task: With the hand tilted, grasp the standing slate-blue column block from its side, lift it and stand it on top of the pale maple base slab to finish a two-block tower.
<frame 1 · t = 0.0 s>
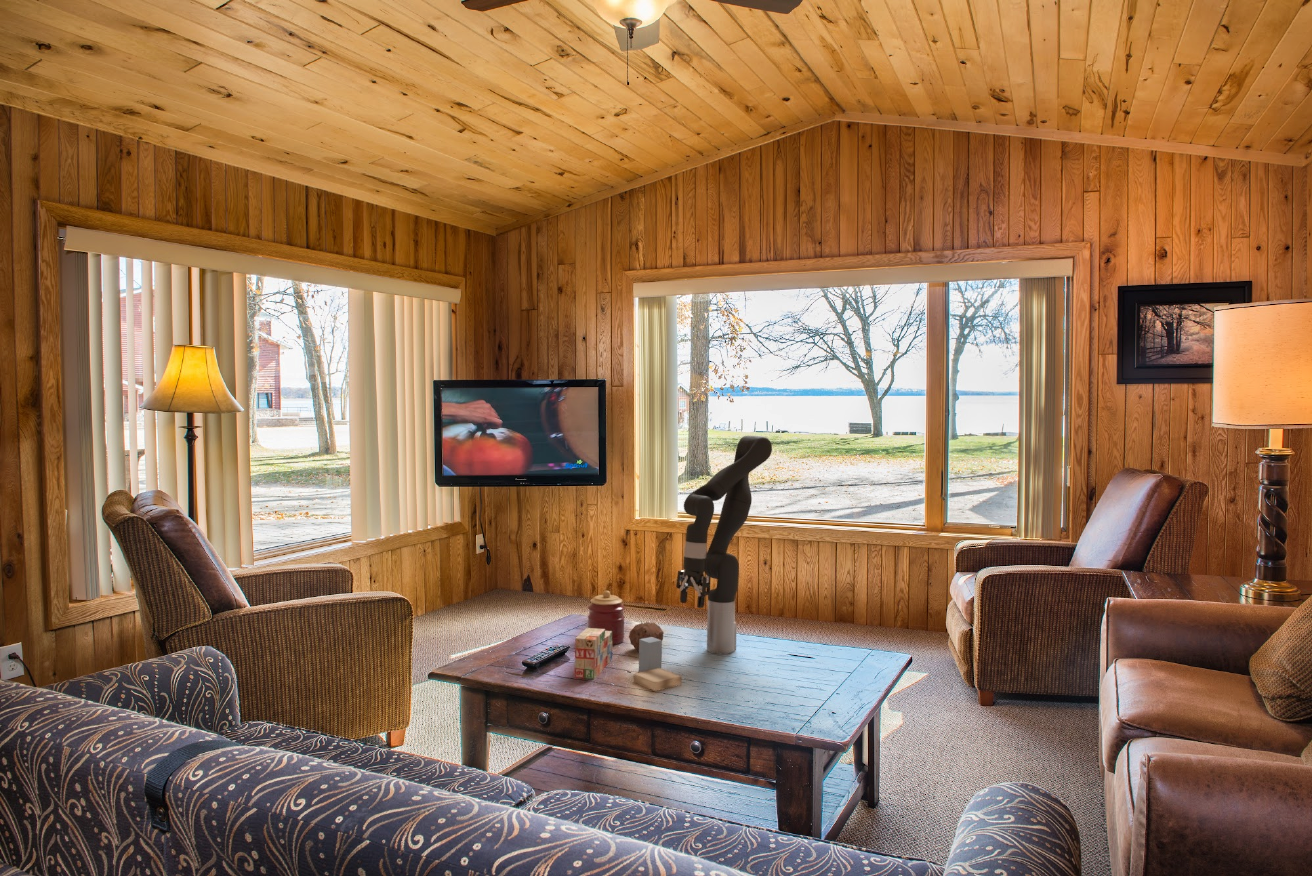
hand: (691, 605, 274), 17 cm above the table, tool pointing down, fingers open, 8 cm apart
canister: (605, 641, 292), on the table
stack of blocks: (594, 669, 260), on the table
column: (650, 671, 258), on the table
decorative rock: (646, 651, 281), on the table
base slab: (657, 684, 247), on the table
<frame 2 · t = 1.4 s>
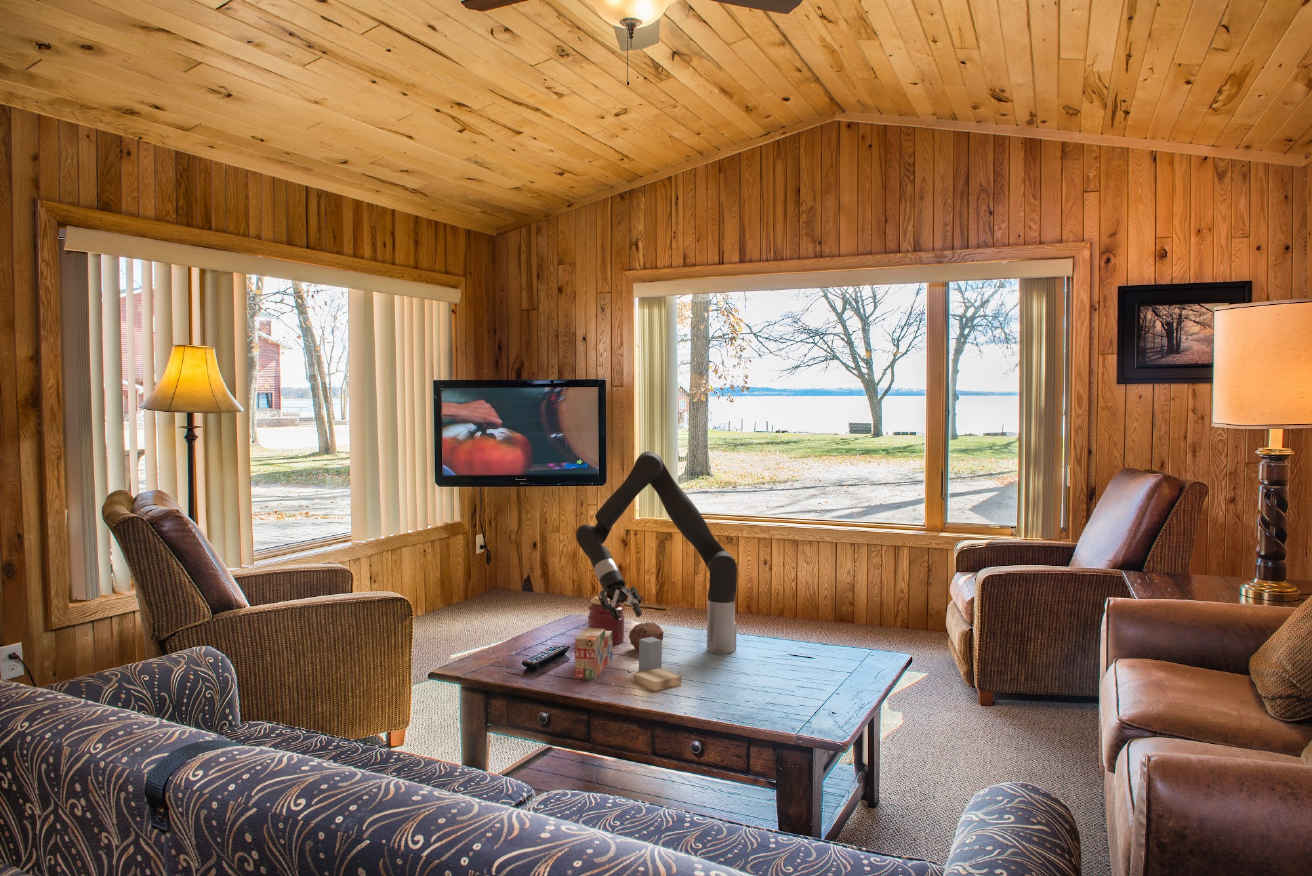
hand: (629, 617, 266), 15 cm above the table, tool tilted 45°, fingers open, 8 cm apart
nothing on the table moved.
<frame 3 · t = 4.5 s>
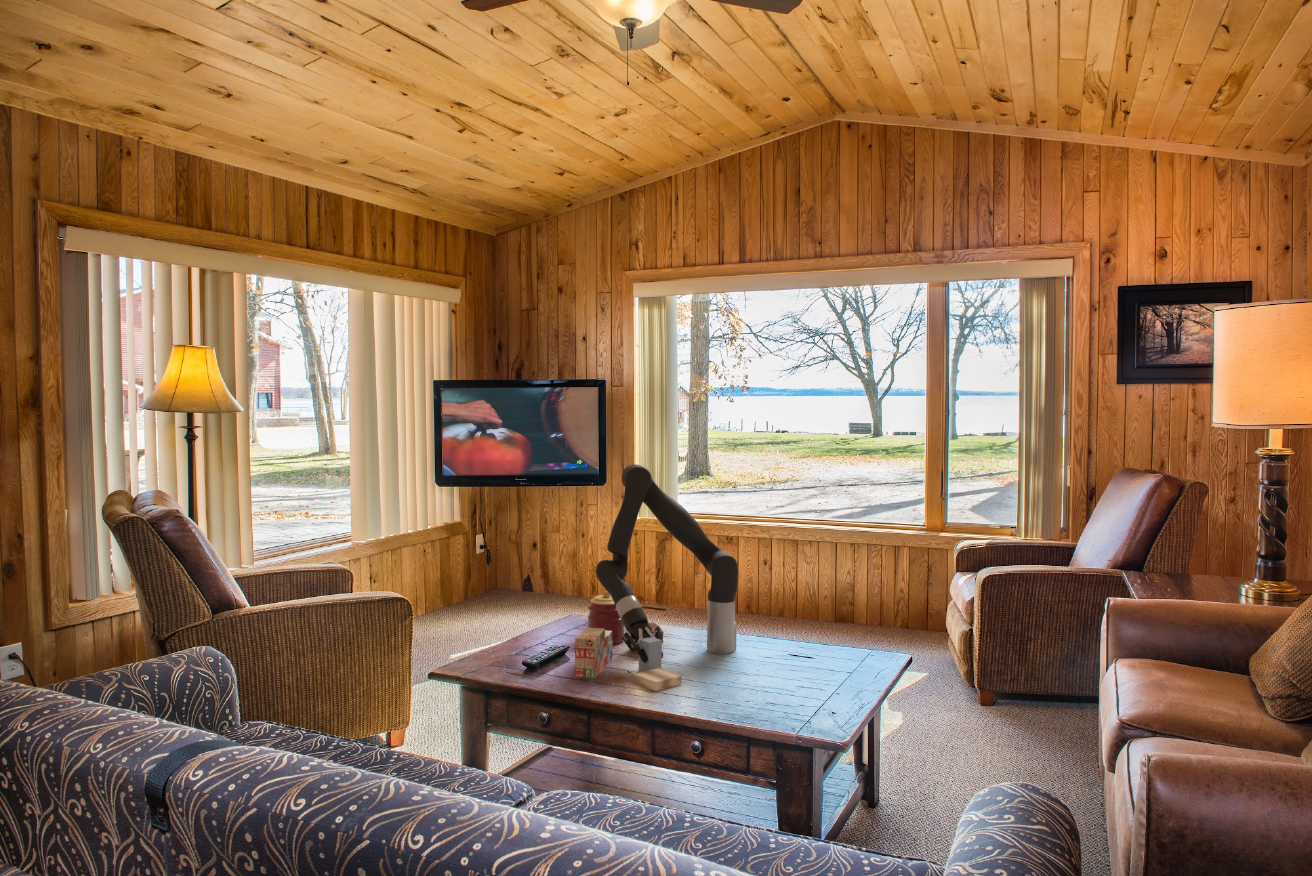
hand: (653, 659, 256), 4 cm above the table, tool tilted 45°, fingers closed on column, 5 cm apart
column: (649, 671, 258), on the table, touching gripper
everything else where it was.
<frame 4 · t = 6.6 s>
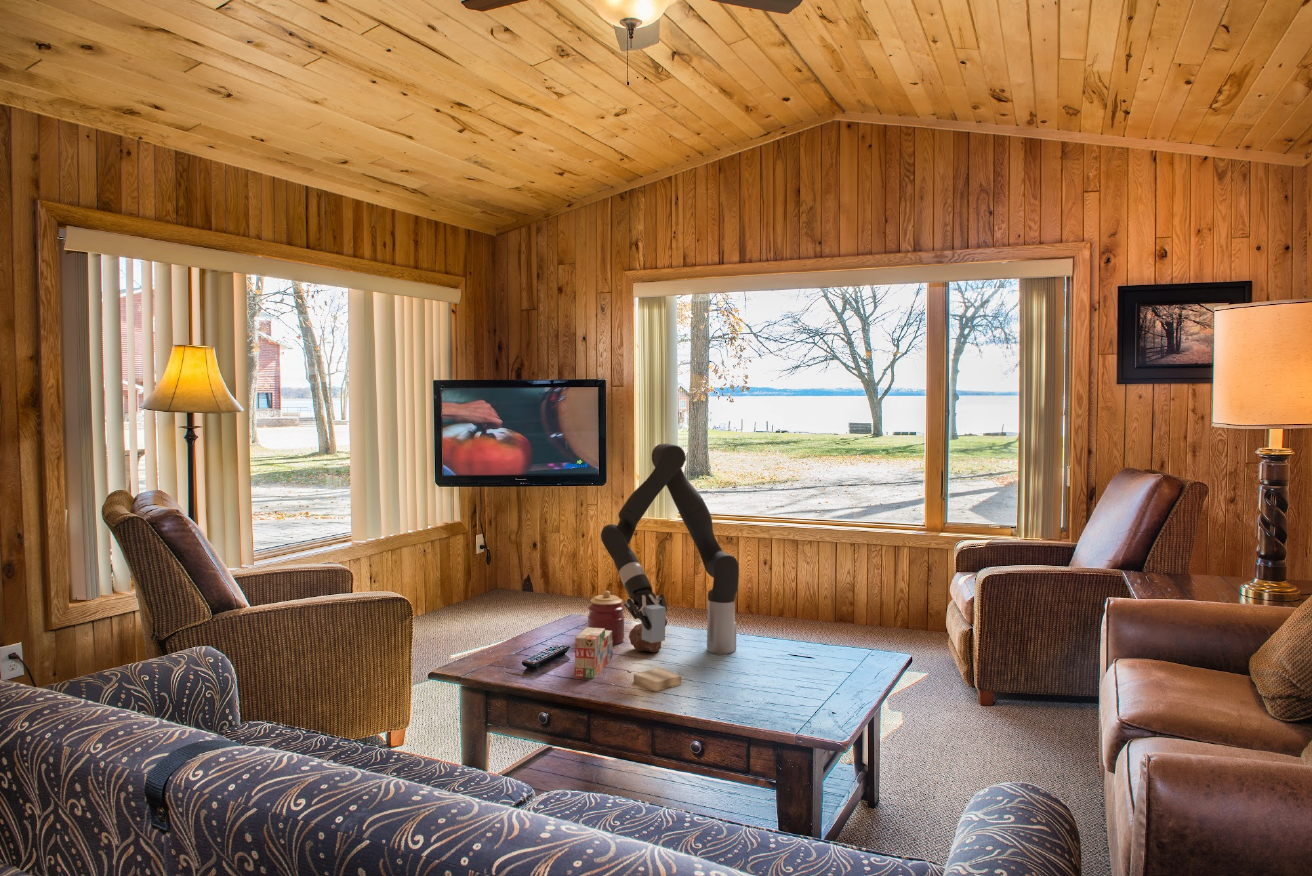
hand: (657, 627, 248), 16 cm above the table, tool tilted 45°, fingers closed on column, 5 cm apart
column: (653, 639, 250), point 12 cm above the table, touching gripper
everything else where it was.
when the fingers open (8 cm above the table, at t = 9.1 s): column drops 2 cm, point 2 cm above the table.
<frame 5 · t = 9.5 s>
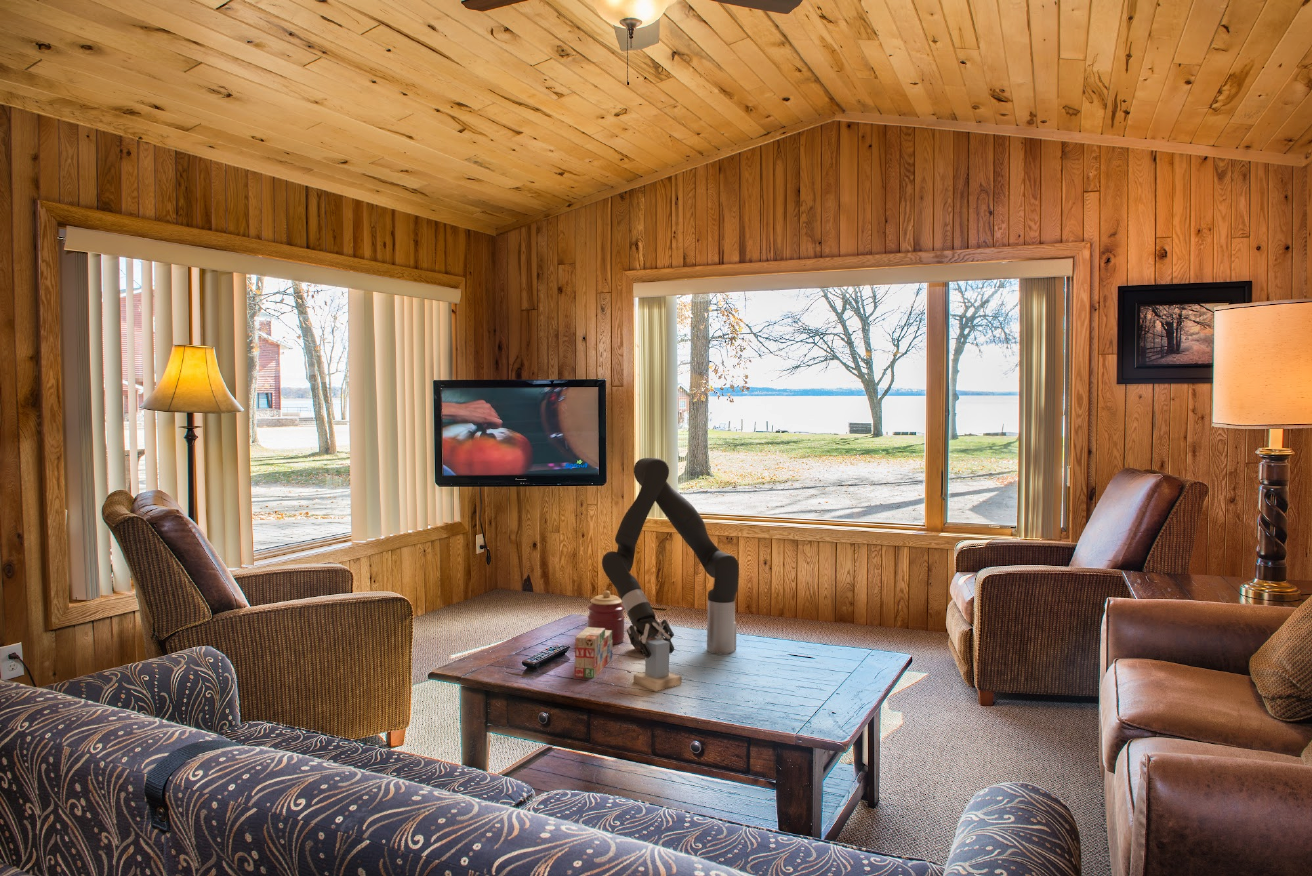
hand: (660, 654, 245), 9 cm above the table, tool tilted 45°, fingers open, 8 cm apart
column: (657, 675, 247), point 2 cm above the table
everything else where it was.
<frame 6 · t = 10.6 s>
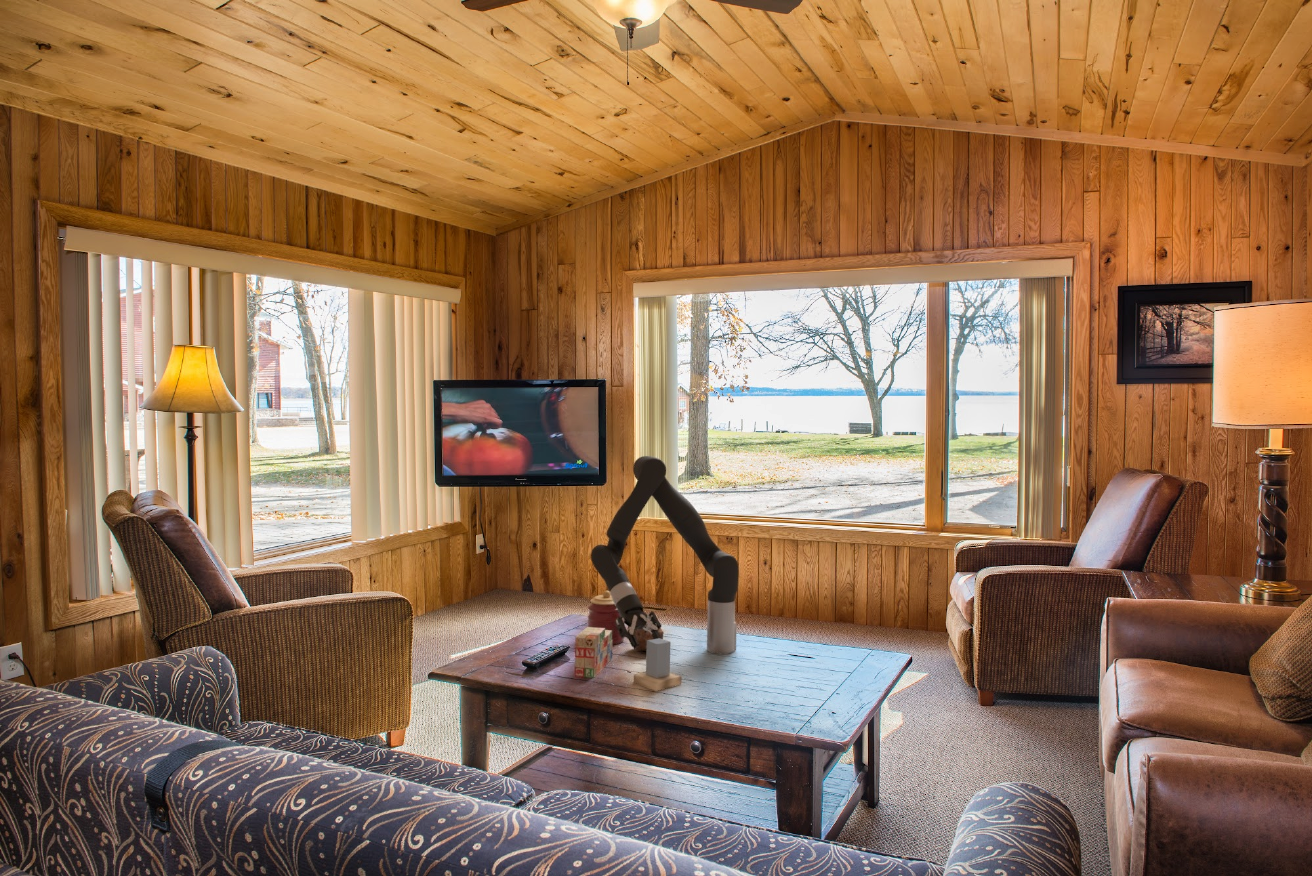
hand: (648, 645, 250), 10 cm above the table, tool tilted 45°, fingers open, 8 cm apart
column: (657, 674, 247), point 2 cm above the table, touching base slab
base slab: (657, 685, 247), on the table, touching column
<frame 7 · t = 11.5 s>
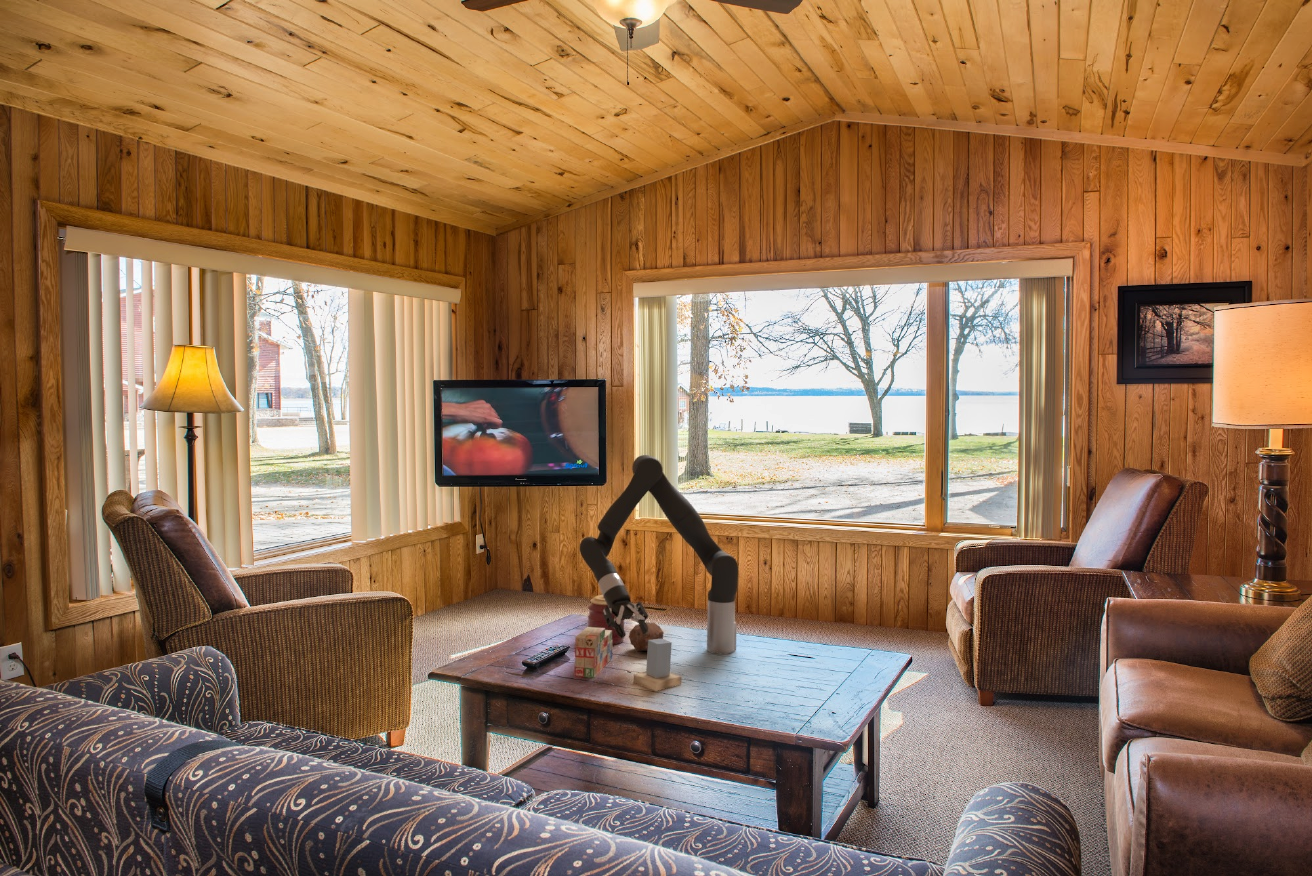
hand: (635, 634, 256), 12 cm above the table, tool tilted 45°, fingers open, 8 cm apart
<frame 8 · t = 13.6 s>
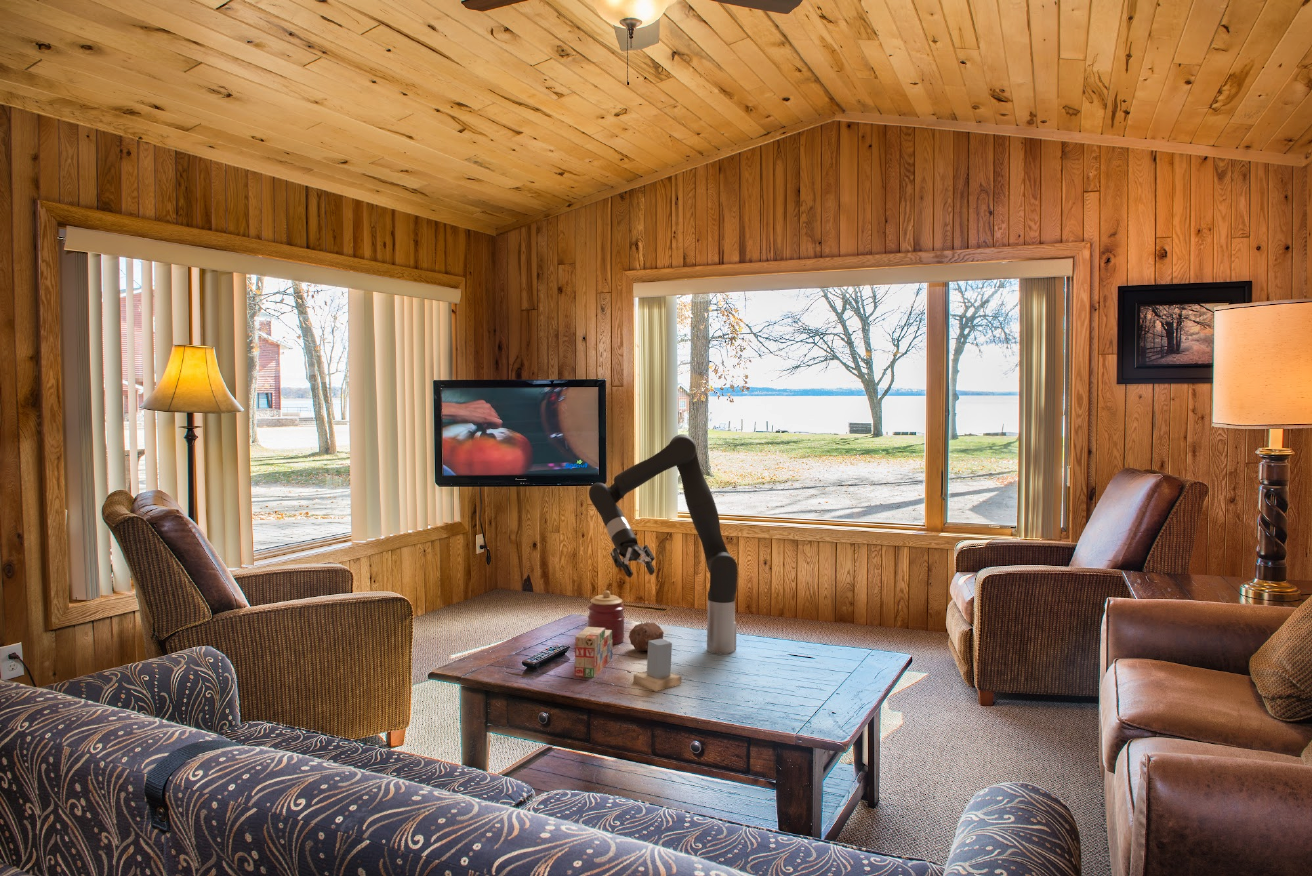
hand: (641, 574, 264), 29 cm above the table, tool tilted 45°, fingers open, 8 cm apart
at the end: column 0.6 cm off-centre on the base slab, point 3.1 cm above the base slab's base; column tilted 2°; the gripper is holding nothing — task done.
